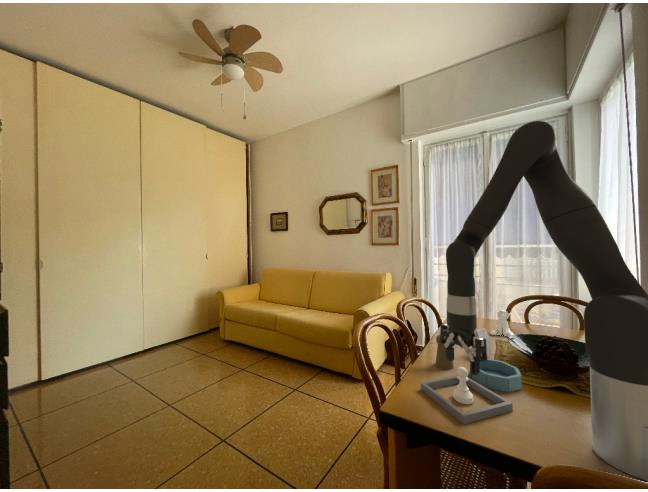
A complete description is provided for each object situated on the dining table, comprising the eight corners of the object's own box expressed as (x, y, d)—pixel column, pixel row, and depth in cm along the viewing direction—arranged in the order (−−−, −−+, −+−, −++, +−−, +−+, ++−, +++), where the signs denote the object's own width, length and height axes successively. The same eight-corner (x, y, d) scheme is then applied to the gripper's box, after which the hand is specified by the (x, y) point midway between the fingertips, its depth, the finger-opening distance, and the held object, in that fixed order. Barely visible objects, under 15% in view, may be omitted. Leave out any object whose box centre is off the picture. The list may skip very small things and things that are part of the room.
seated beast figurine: (490, 335, 120) (489, 310, 121) (491, 330, 127) (490, 307, 127) (514, 339, 115) (513, 313, 115) (514, 334, 122) (513, 309, 122)
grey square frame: (512, 410, 65) (512, 403, 65) (464, 424, 60) (463, 416, 60) (462, 380, 80) (462, 374, 80) (420, 389, 76) (420, 382, 76)
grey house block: (491, 354, 100) (490, 329, 100) (482, 358, 96) (481, 332, 96) (481, 351, 103) (480, 326, 103) (472, 355, 99) (471, 329, 99)
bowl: (531, 386, 76) (530, 373, 76) (499, 394, 72) (498, 380, 72) (491, 367, 88) (491, 356, 88) (462, 373, 85) (462, 361, 85)
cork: (456, 370, 87) (455, 338, 87) (437, 369, 88) (436, 338, 88) (451, 362, 93) (450, 333, 93) (433, 361, 94) (433, 332, 94)
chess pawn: (451, 400, 70) (450, 368, 70) (455, 392, 74) (454, 361, 74) (471, 407, 67) (470, 373, 67) (475, 398, 71) (474, 366, 71)
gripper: (494, 315, 65) (495, 377, 65) (452, 303, 79) (453, 354, 79) (471, 318, 63) (472, 382, 63) (432, 305, 77) (433, 357, 77)
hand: (461, 366), depth 71 cm, fingers open, 8 cm apart
